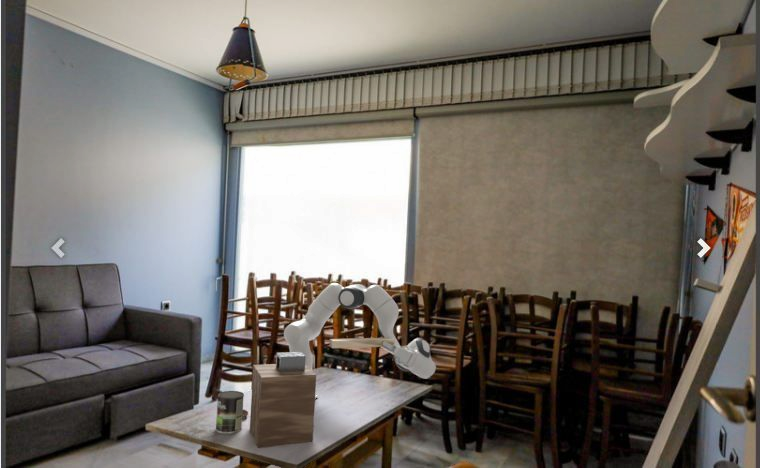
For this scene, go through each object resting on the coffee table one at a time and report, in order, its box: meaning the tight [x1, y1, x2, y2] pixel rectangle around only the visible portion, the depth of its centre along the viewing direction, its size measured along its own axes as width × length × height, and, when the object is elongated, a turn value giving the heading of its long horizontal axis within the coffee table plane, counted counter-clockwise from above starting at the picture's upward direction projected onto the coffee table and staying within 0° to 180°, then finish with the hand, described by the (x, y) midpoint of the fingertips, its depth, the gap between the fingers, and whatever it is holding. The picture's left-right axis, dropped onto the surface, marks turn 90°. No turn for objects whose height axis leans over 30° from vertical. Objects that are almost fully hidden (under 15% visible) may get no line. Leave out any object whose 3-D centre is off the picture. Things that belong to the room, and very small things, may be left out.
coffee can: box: [215, 390, 245, 435], centre depth 201 cm, size 10×10×14 cm
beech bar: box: [329, 337, 395, 349], centre depth 211 cm, size 4×28×3 cm, turn 113°
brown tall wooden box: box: [249, 363, 317, 449], centre depth 198 cm, size 20×21×26 cm
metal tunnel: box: [275, 351, 306, 372], centre depth 199 cm, size 8×10×6 cm
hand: (380, 341), depth 215 cm, fingers closed on beech bar, 4 cm apart
